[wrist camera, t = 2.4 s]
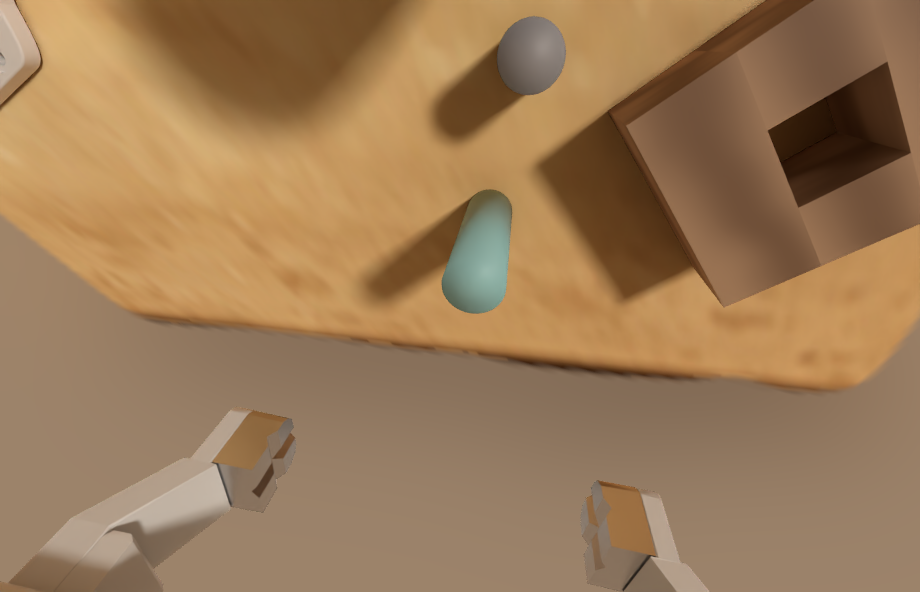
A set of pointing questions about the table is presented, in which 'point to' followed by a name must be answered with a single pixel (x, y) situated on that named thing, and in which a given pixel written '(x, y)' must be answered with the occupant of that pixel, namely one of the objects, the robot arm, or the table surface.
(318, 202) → the table surface
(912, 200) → the walnut block
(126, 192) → the table surface
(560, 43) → the charcoal dowel
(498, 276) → the teal dowel
